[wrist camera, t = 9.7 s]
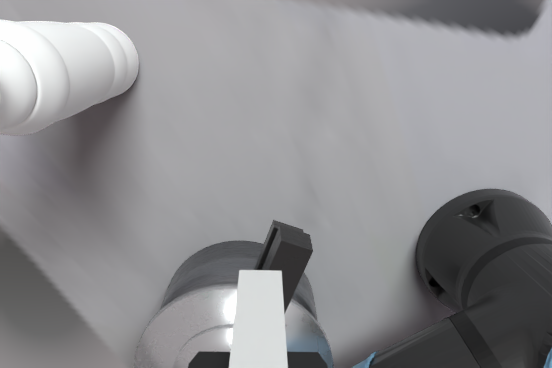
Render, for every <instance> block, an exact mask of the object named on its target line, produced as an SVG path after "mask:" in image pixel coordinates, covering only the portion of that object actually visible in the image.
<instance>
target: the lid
mask: <svg viewBox="0 0 552 368" xmlns="http://www.w3.org/2000/svg"><path fill="white" fill-rule="evenodd" d="M312 252H313V249H312V244H311V239H310V235H309V234H306V233H303V232H300V231H297V230H294V229H291V228H288V227H285V226H282V225H280V226H279V228H278V231H277V233H276V236H275V238H274V241H273V243H272V245H271V248H270V250H269V253H268V255H267V258H266V260H265V263H264V265H263V267H262V270H272V271H282V285H283V300H284V316H285V332H286V347H287V352H318V353H319V354H320V355H321V357H322V358H323V360H324V361H325V362H326V364H327V366H328V368H333V358H332V353H331V349H330V345H329V342H328V339H327V337H326V334H325V332H324V331H323V329H322V327H321V326H320V324H319V323H318V321H317V320H316V319H315V318H314V317H313V315H312V314H311V313H310V312H308V311H307V310H306V309H305V308H304V307H303V306H302V305H300V304H299V303H297V302H296V301H294V300H293V299H292V297H293V294H294V292H295V290H296V288H297V285H298V283H299V281H300V279H301V277H302V274H303V272H304V270H305V268H306V265H307V263H308V261H309V259H310V256H311V254H312ZM237 288H238V283H226V284H216V285H211V286H206V287H201V288H198V289H196V290H193V291H190V292H187V293H185V294H183V295H181V296H179V297H177V298H176V299H174V300H173V301H171V302H170V303H168V304H167V305H165V306H164V307H163V308H162V309H161V310H160V311H159V312H157V314H156V315H155V316H154V317H153V318H152V319H151V321H150V322H149V324H148V325H147V327H146V328H145V330H144V332H143V334H142V337H141V339H140V341H139V344H138V346H137V349H136V354H135V358H134V368H188V365H189V363H190V362H191V360H192V359H193V358H194V357H195V355H196V354H197V353H198V352H199V351H209V352H231V342H232V333H233V324H234V315H235V306H236V297H237Z"/></svg>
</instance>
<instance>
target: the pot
mask: <svg viewBox="0 0 552 368" xmlns="http://www.w3.org/2000/svg"><path fill="white" fill-rule="evenodd" d="M280 225H282V226H285V227H288V228H291V229H294V230H297V231H300V232H303V230H302V229H299V228H296V227H293V226H290V225H287V224H284V223H281V222H278V221H275V220H273V222H272V225H271V227H270V230H269V232H268V235H267V238H266V240H265V243H264V244H261V243H257V242H251V241H228V242H222V243H218V244H214V245H211V246H209V247H206V248H204V249H202V250H200V251H198V252H196V253H195V254H194V255H192V256H191V257H189V258H188V259H187V260H186V261H185V262H184V263H183V264H182V265H181V266H180V267H179V269H178V270H177V271H176V273H175V275H174V276H173V278H172V280H171V283H170V285H169V288H168V290H167V293H166V296H165V298H164V301H163V304H162V306H161V309H162V308H163V307H164V306H165V305H167V304H168V303H170V302H171V301H173V300H174V299H176V298H177V297H179V296H181V295H183V294H185V293H187V292H190V291H193V290H196V289H198V288H201V287H206V286H211V285H216V284H226V283H238V279H239V270H262V267H263V265H264V263H265V260H266V258H267V255H268V253H269V250H270V248H271V245H272V243H273V241H274V238H275V236H276V233H277V231H278V228H279V226H280ZM292 299H293V300H294V301H296V302H297V303H299V304H300V305H302V306H303V307H304V308H305V309H306V310H307V311H308V312H310V313H311V314H312V315H313V317H314V318H315V319H316V320H317V314H316V308H315V303H314V297H313V292H312V288H311V285H310V283H309V281H308V278H307V277H306V275H305V274H304V272H303V274H302V277H301V279H300V281H299V283H298V285H297V288H296V290H295V292H294V294H293V297H292ZM161 309H160V310H161ZM317 321H318V320H317Z"/></svg>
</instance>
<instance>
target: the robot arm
mask: <svg viewBox="0 0 552 368" xmlns="http://www.w3.org/2000/svg"><path fill="white" fill-rule="evenodd" d="M416 260H417V267H418V270H419V273H420V275H421V277H422V279H423V281H424V282H425V284H426V286H427V287H428V289H429V290H430V292H431V293H432V294H433V295H434V296H435V297H436V298H437V299H438V300H439V301H440V302H441V303H443V304H444V305H446V306H447V307H449V308H450V309H452V310H454V311H455V312H457V313H456V314H454V315H452V316H450V317H447V318H445V319H443V320H442V321H440V322H438V323H436V324H434V325H432V326H430V327H428V328H426V329H424V330H422V331H420V332H418V333H416V334H414V335H412V336H410V337H408V338H406V339H404V340H402V341H400V342H398V343H396V344H394V345H392V346H390V347H388V348H386V349H384V350H382V351H380V352H379V351H376V352H374V353H372V354H370V356H369V357H368V358H367V359H365V360H363V361H362V362H360V363H358V364H357V365H355V366H353V367H352V368H552V225H551V223H550V221H549V219H548V218H547V217H546V215H545V214H544V213H543V212H542V211H541V210H540V209H539V208H538V207H536V206H535V205H534V204H532V203H531V202H529V201H528V200H526V199H525V198H523V197H522V196H520V195H518V194H515V193H513V192H510V191H506V190H500V189H482V190H476V191H472V192H468V193H466V194H463V195H461V196H458V197H456V198H454V199H453V200H451V201H449V202H448V203H446V204H445V205H444V206H442V207H441V208H440V209H439V210H438V211H437V212H436V213H435V214H434V215H433V216H432V217H431V218H430V220H429V221H428V222H427V224H426V225H425V227H424V229H423V231H422V233H421V235H420V238H419V241H418V245H417V251H416ZM188 368H328V366H327V364H326V362H325V361H324V360H323V358H322V357H321V355H320V354H319V353H318V352H287V347H286V332H285V316H284V300H283V285H282V271H272V270H239V279H238V288H237V297H236V306H235V315H234V324H233V333H232V342H231V352H209V351H199V352H198V353H197V354H196V355H195V357H194V358H193V359H192V360H191V362H190V363H189V365H188Z"/></svg>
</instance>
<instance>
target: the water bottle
mask: <svg viewBox="0 0 552 368" xmlns="http://www.w3.org/2000/svg"><path fill="white" fill-rule="evenodd" d="M138 70H139V59H138V54H137V51H136V49H135V46H134V45H133V43H132V41H131V40H130V39H129V37H128V36H127V35H126V34H125V33H123V32H122V31H121V30H119V29H118V28H116V27H114V26H112V25H109V24H105V23H97V22H93V23H82V22H72V23H62V22H50V21H23V22H14V21H8V20H0V134H3V135H13V136H18V135H27V134H32V133H35V132H38V131H40V130H42V129H44V128H46V127H48V126H49V125H51V124H52V123H54V122H57V121H60V120H63V119H65V118H68V117H70V116H73V115H75V114H77V113H79V112H81V111H83V110H85V109H87V108H89V107H91V106H92V105H95V104H98V103H101V102H104V101H106V100H108V99H109V98H112V97H115V96H117V95H120V94H122V93H123V92H125V91H126V90H128V89H129V88H130V87H131V86H132V84H133V83H134V81H135V79H136V77H137V74H138Z"/></svg>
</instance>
